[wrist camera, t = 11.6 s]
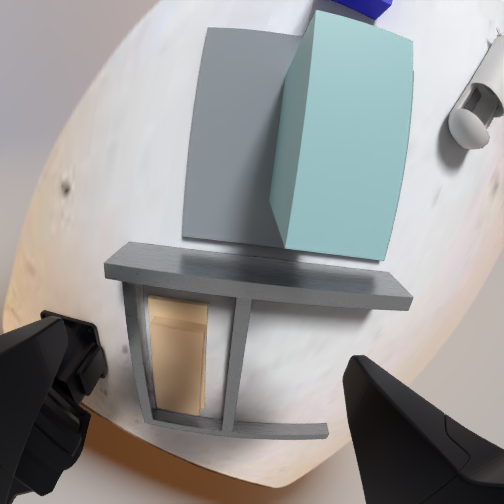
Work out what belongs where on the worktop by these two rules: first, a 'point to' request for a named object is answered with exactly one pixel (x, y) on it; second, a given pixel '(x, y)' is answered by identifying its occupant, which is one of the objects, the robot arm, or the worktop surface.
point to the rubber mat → (237, 136)
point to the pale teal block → (342, 138)
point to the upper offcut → (177, 363)
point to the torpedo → (481, 100)
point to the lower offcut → (184, 312)
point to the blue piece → (367, 6)
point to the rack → (237, 315)
